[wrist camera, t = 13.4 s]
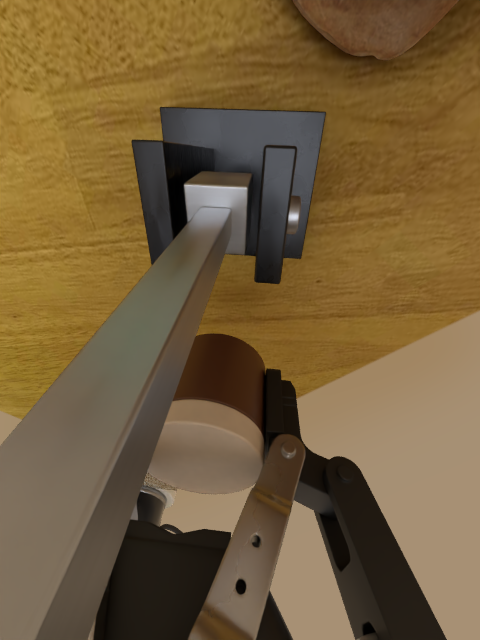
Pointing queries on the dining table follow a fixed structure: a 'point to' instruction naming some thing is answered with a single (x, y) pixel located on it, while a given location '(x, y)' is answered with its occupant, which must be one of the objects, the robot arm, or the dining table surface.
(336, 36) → the stone cup
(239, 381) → the brown lidded jar
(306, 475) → the robot arm
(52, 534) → the metal lever handle
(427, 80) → the dining table surface
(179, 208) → the black angular piece
